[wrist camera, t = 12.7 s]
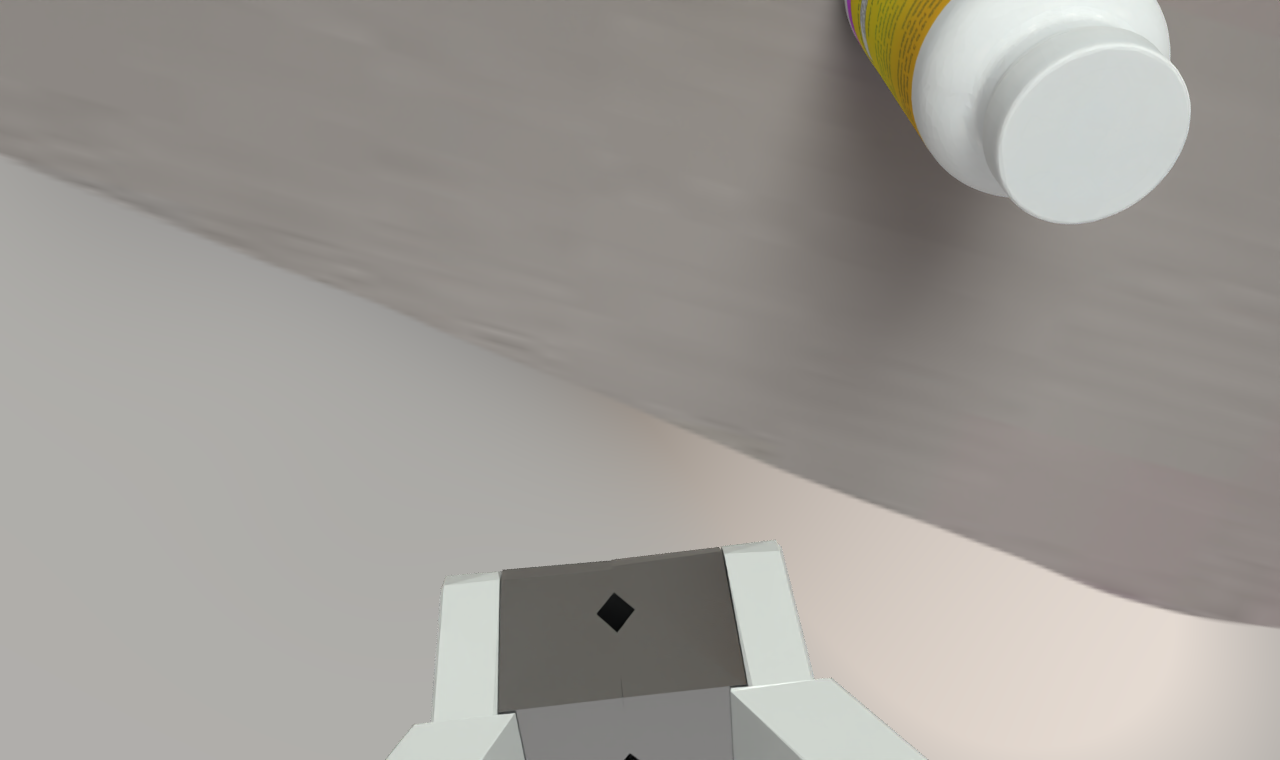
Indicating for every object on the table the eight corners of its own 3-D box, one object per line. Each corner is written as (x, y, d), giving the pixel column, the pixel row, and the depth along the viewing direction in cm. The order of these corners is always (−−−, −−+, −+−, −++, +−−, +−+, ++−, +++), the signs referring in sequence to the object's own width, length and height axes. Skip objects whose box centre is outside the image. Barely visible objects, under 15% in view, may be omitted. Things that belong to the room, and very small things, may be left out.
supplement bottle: (822, 66, 41) (925, 256, 31) (859, -145, 37) (990, -9, 27) (1014, 76, 42) (1178, 264, 31) (1069, -129, 38) (1277, 8, 28)
